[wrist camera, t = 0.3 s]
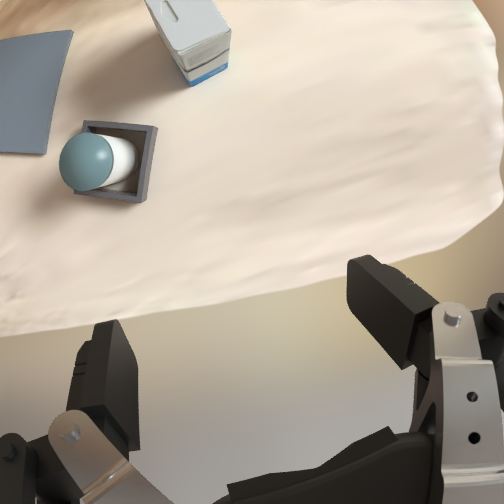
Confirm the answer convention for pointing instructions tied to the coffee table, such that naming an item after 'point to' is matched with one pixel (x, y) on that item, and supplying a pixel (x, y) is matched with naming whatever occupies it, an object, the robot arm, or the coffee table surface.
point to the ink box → (193, 36)
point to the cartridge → (96, 161)
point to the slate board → (30, 88)
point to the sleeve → (145, 165)
